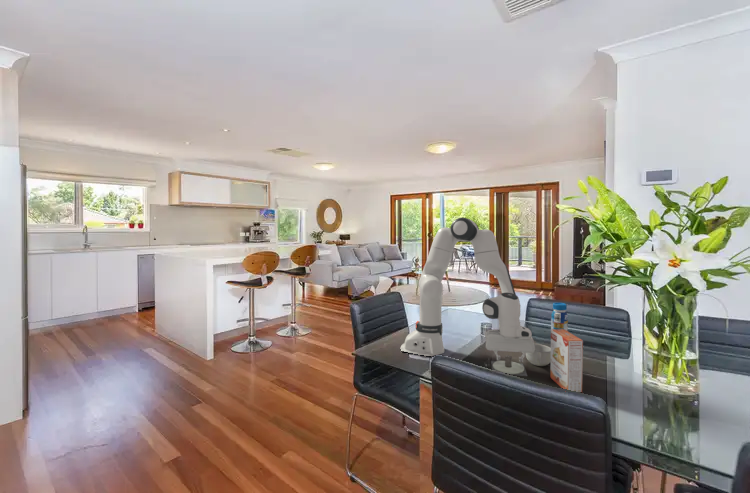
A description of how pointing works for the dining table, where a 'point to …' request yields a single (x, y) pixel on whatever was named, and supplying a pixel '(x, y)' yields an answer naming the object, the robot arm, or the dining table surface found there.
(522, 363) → the mat
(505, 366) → the lid
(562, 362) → the cracker box
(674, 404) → the dining table surface
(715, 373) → the dining table surface
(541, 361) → the teacup
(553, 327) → the beverage bottle
